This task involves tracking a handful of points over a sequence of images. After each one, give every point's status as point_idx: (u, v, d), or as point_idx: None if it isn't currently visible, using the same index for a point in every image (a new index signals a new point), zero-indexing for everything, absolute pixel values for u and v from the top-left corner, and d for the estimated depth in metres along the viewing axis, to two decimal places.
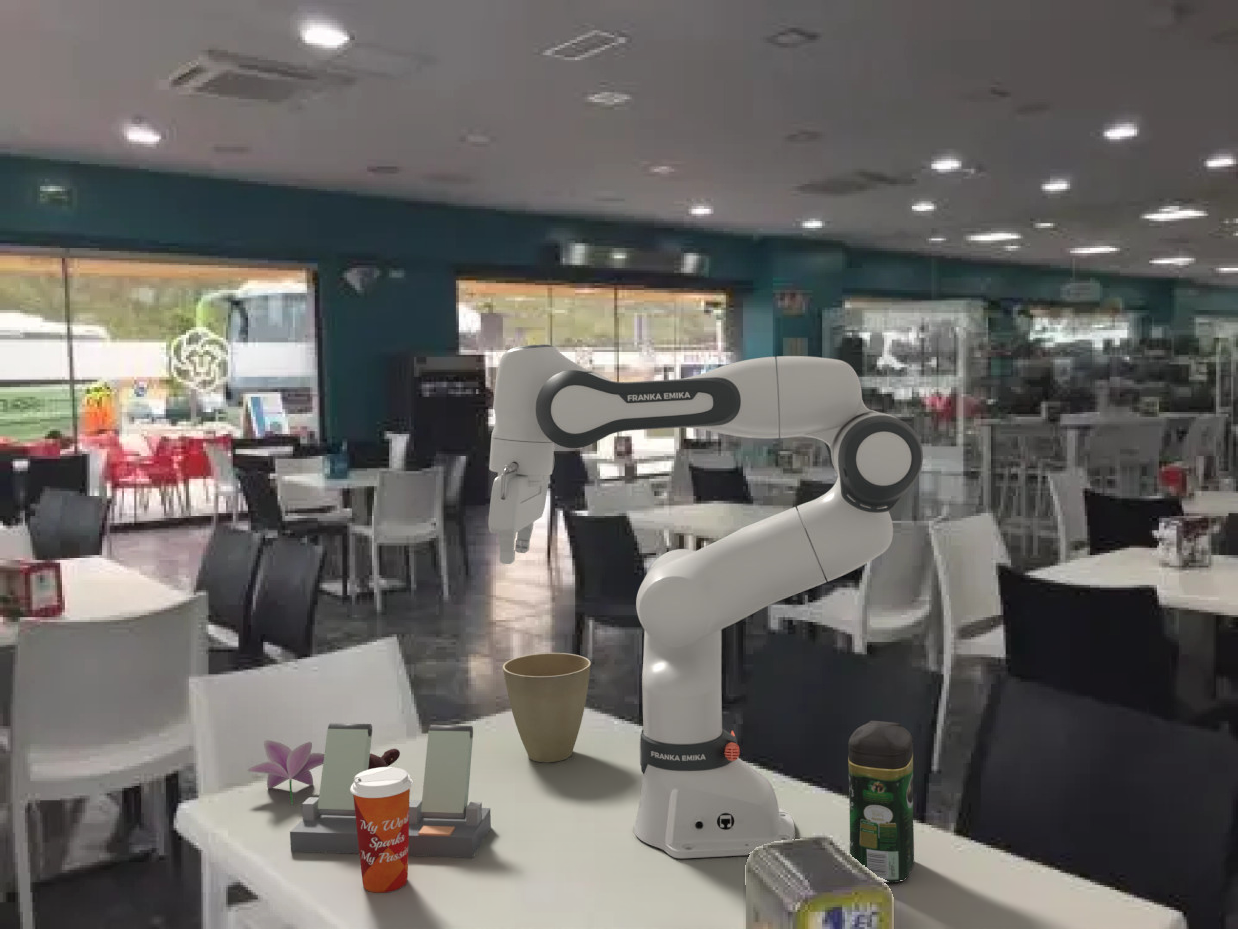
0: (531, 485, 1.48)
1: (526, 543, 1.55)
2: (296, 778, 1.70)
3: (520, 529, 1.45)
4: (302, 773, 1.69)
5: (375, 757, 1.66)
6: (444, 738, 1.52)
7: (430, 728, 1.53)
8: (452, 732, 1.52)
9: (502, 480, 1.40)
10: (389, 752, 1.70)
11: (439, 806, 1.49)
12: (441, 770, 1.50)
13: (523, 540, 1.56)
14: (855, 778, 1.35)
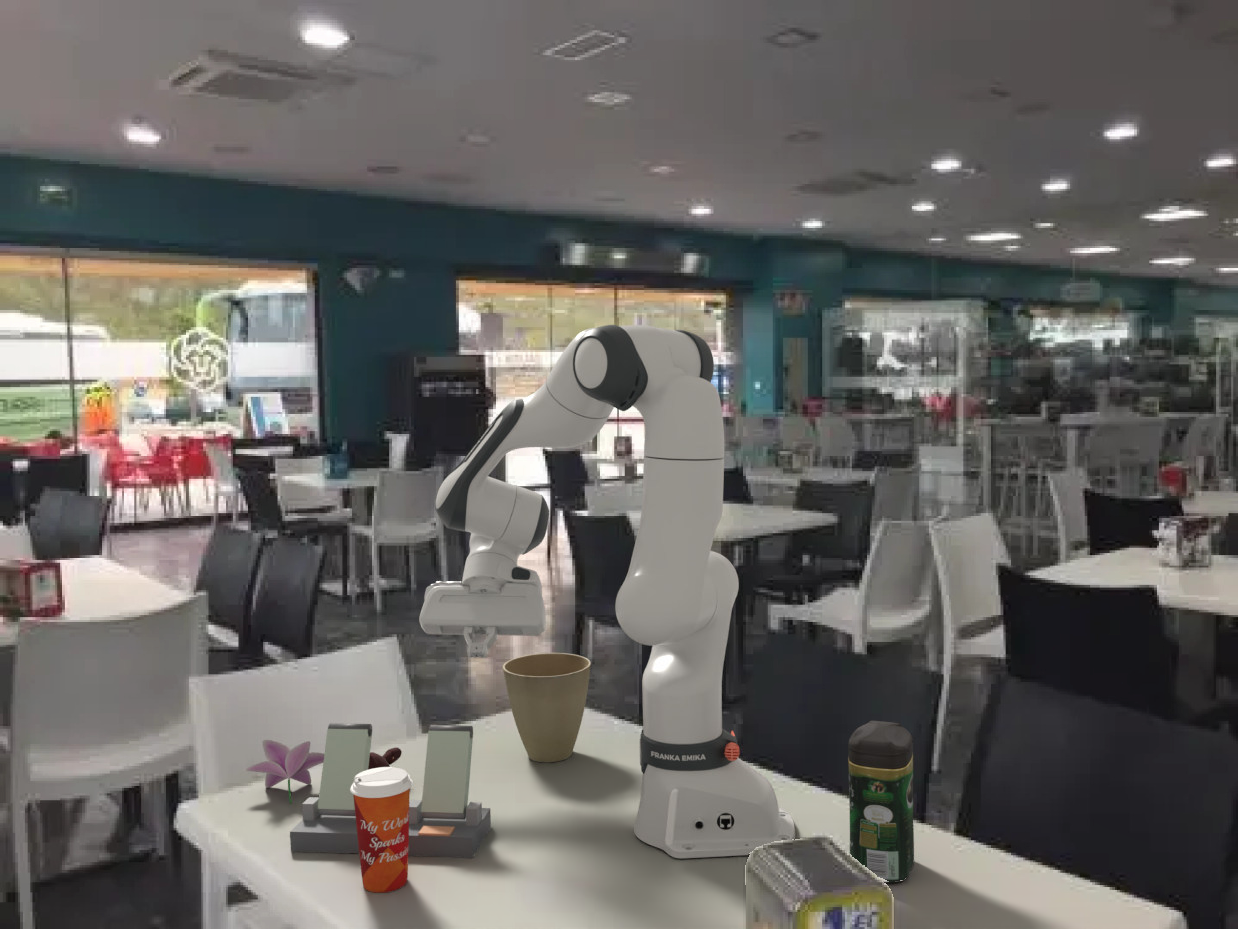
0: (470, 591, 1.74)
1: (477, 645, 1.69)
2: (294, 777, 1.70)
3: (444, 622, 1.71)
4: (300, 772, 1.69)
5: (376, 756, 1.67)
6: (444, 738, 1.52)
7: (430, 728, 1.53)
8: (452, 732, 1.52)
9: (426, 591, 1.77)
10: (391, 751, 1.71)
11: (439, 806, 1.49)
12: (441, 770, 1.50)
13: None
14: (855, 778, 1.35)
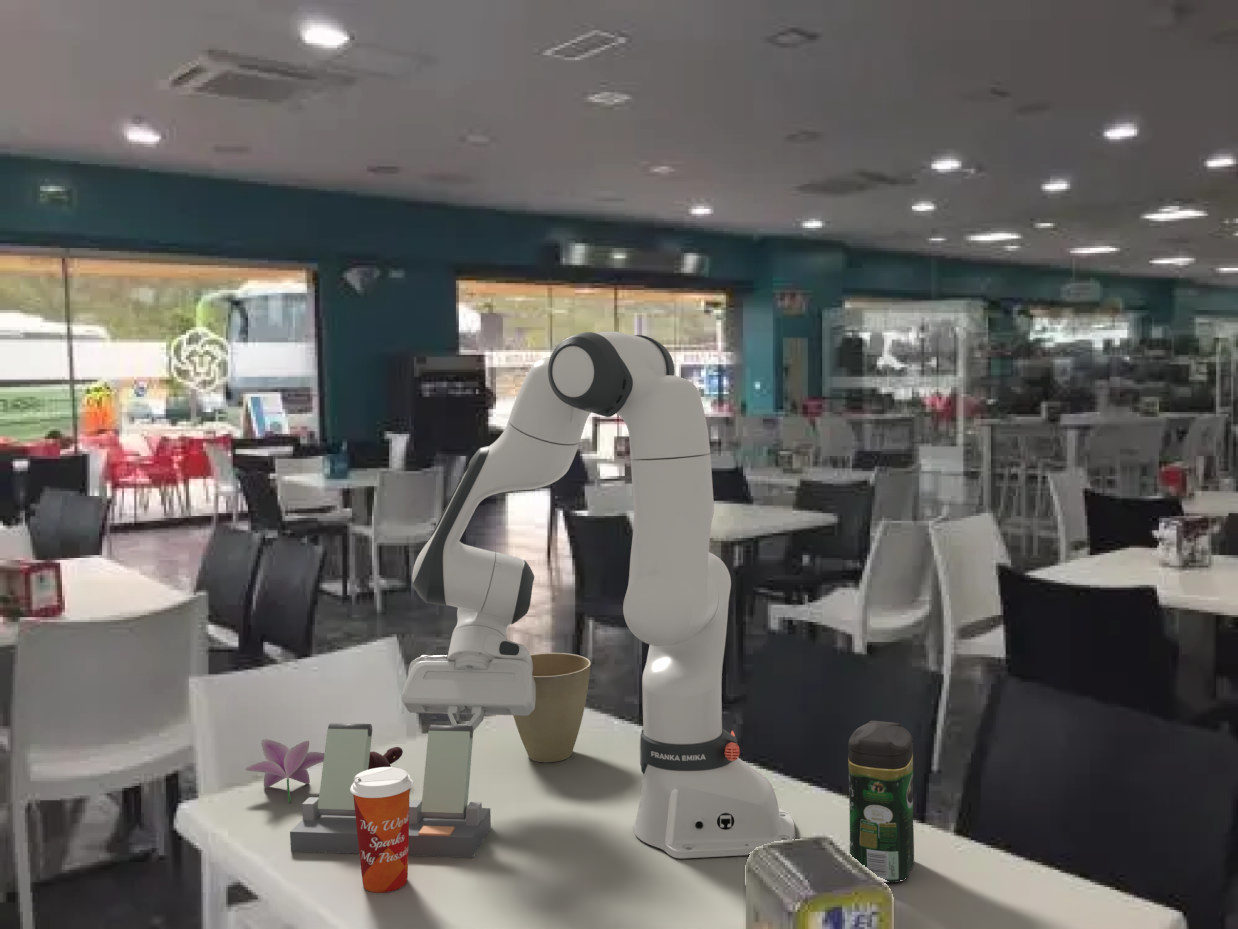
0: (455, 667, 1.64)
1: None
2: (293, 777, 1.70)
3: (428, 701, 1.61)
4: (299, 772, 1.69)
5: (377, 755, 1.67)
6: (444, 738, 1.52)
7: (430, 728, 1.53)
8: (452, 732, 1.52)
9: (410, 666, 1.68)
10: (392, 750, 1.71)
11: (439, 806, 1.49)
12: (441, 770, 1.50)
13: None
14: (855, 778, 1.35)
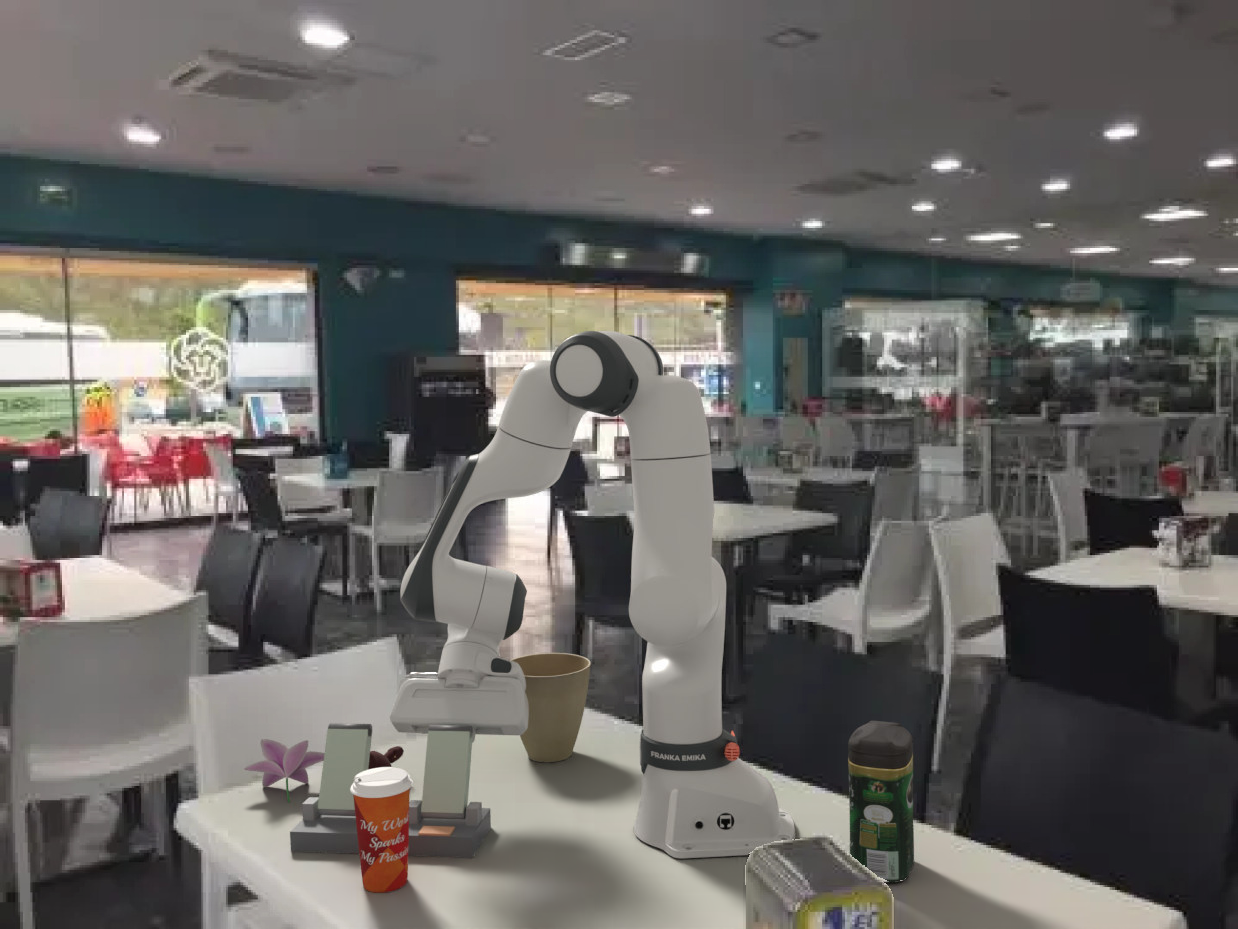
0: (445, 685, 1.59)
1: None
2: (292, 776, 1.71)
3: (417, 721, 1.56)
4: (298, 771, 1.70)
5: (377, 754, 1.68)
6: (444, 738, 1.52)
7: (430, 728, 1.53)
8: (452, 732, 1.52)
9: (399, 684, 1.62)
10: (392, 749, 1.72)
11: (439, 806, 1.49)
12: (441, 770, 1.50)
13: None
14: (855, 778, 1.35)
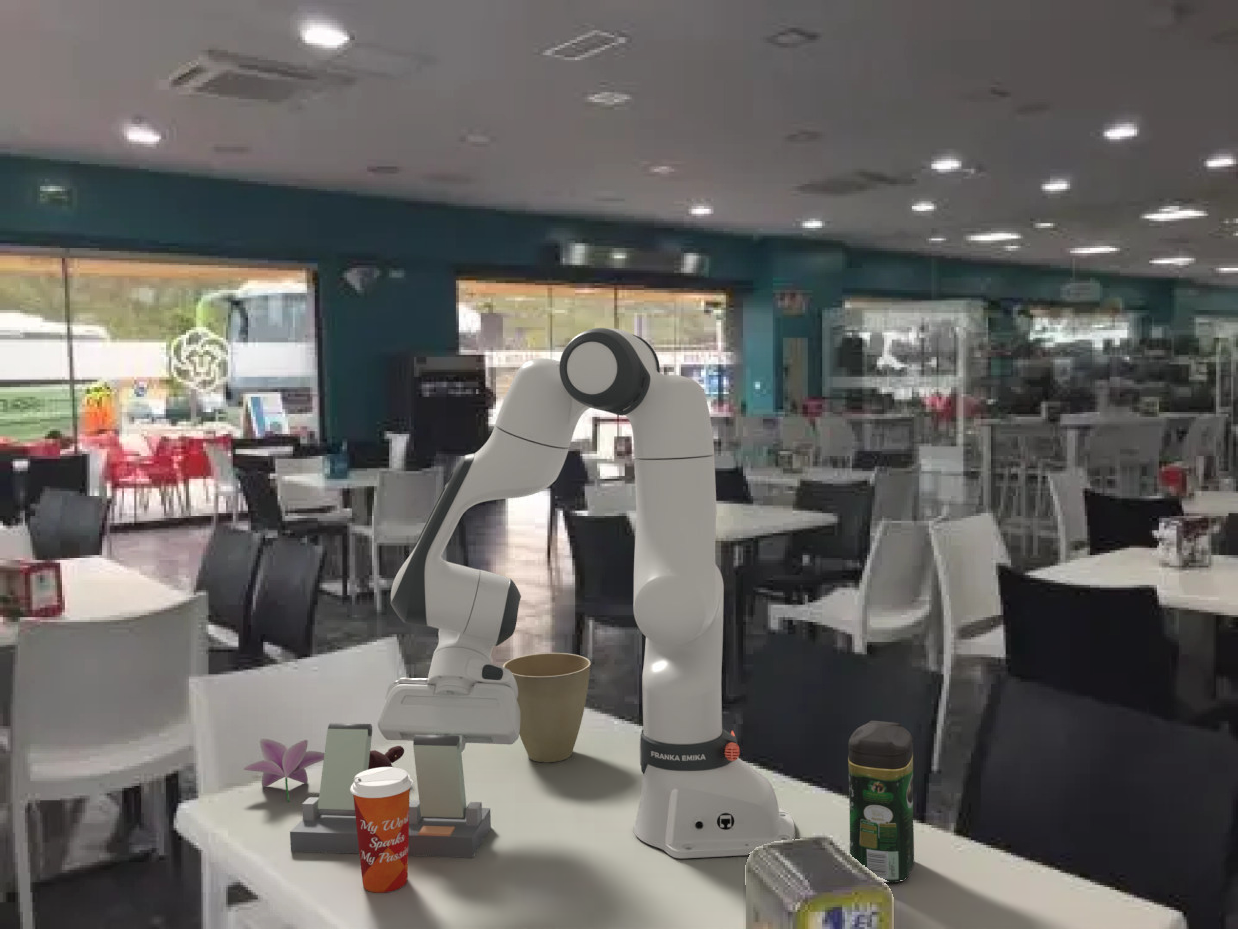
0: (435, 691, 1.54)
1: None
2: (291, 776, 1.71)
3: (405, 729, 1.52)
4: (297, 771, 1.70)
5: (378, 754, 1.68)
6: (431, 752, 1.46)
7: (414, 742, 1.46)
8: (438, 746, 1.45)
9: None
10: (393, 749, 1.72)
11: (438, 812, 1.48)
12: (434, 781, 1.47)
13: None
14: (855, 778, 1.35)
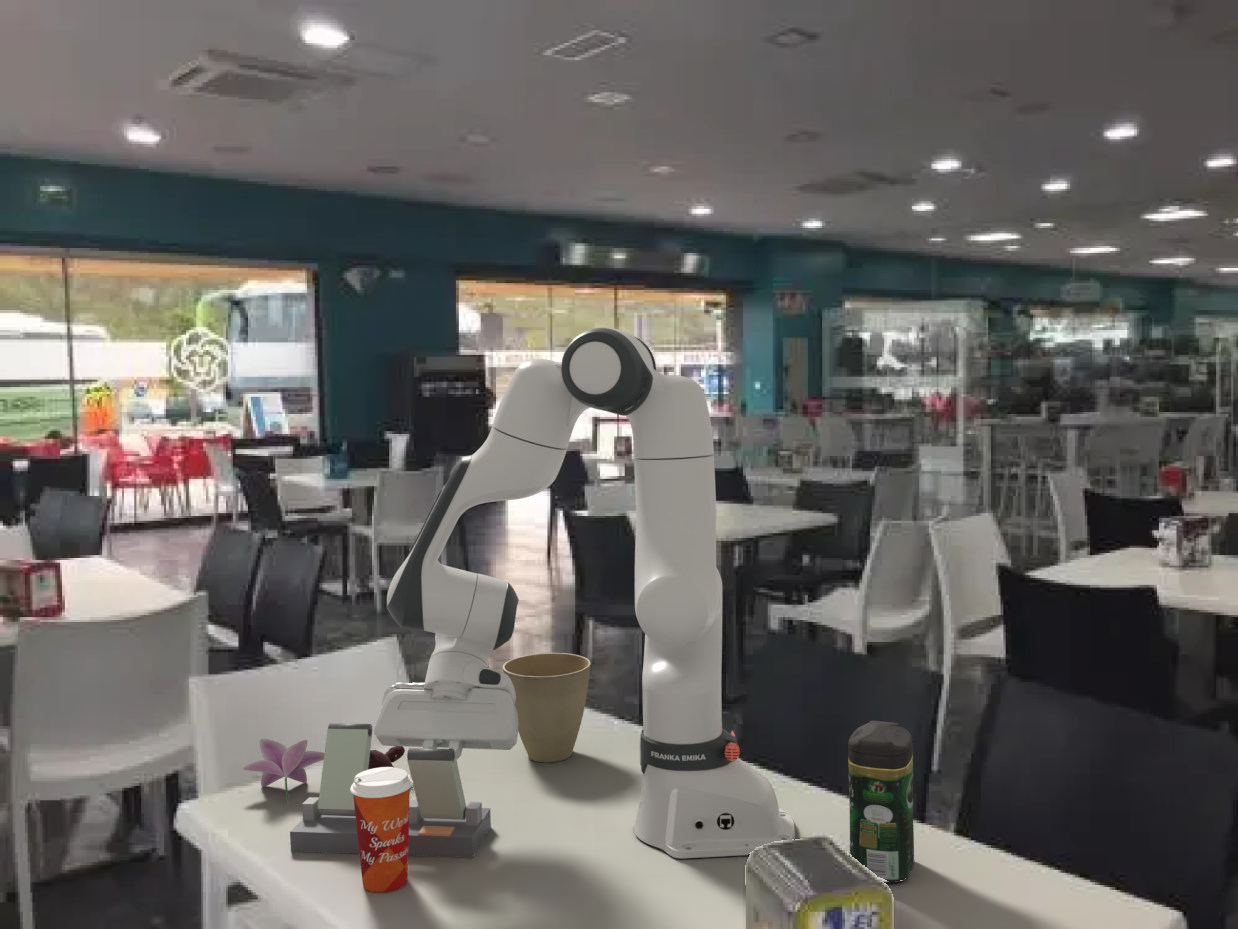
0: (432, 696, 1.53)
1: None
2: (290, 776, 1.71)
3: (402, 734, 1.50)
4: (297, 771, 1.70)
5: (378, 753, 1.68)
6: (426, 766, 1.43)
7: (408, 757, 1.43)
8: (433, 761, 1.43)
9: (384, 695, 1.56)
10: (393, 749, 1.72)
11: (438, 814, 1.48)
12: (431, 789, 1.46)
13: None
14: (855, 778, 1.35)
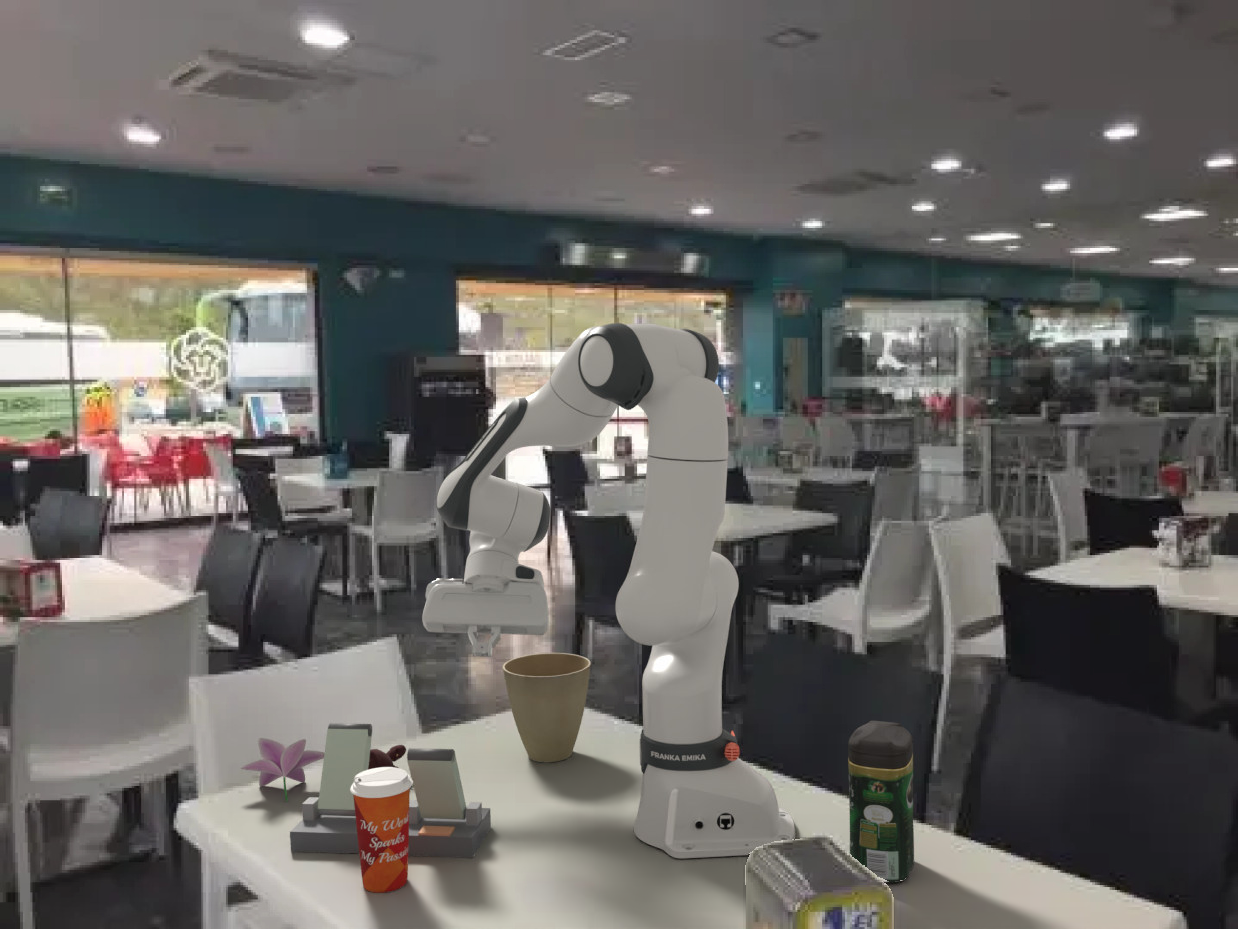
0: (473, 589, 1.73)
1: (482, 644, 1.69)
2: (288, 775, 1.71)
3: (448, 621, 1.70)
4: (295, 770, 1.70)
5: (379, 753, 1.68)
6: (426, 766, 1.43)
7: (408, 758, 1.43)
8: (433, 762, 1.43)
9: None
10: (395, 748, 1.72)
11: (438, 814, 1.48)
12: (431, 789, 1.46)
13: None
14: (855, 778, 1.35)
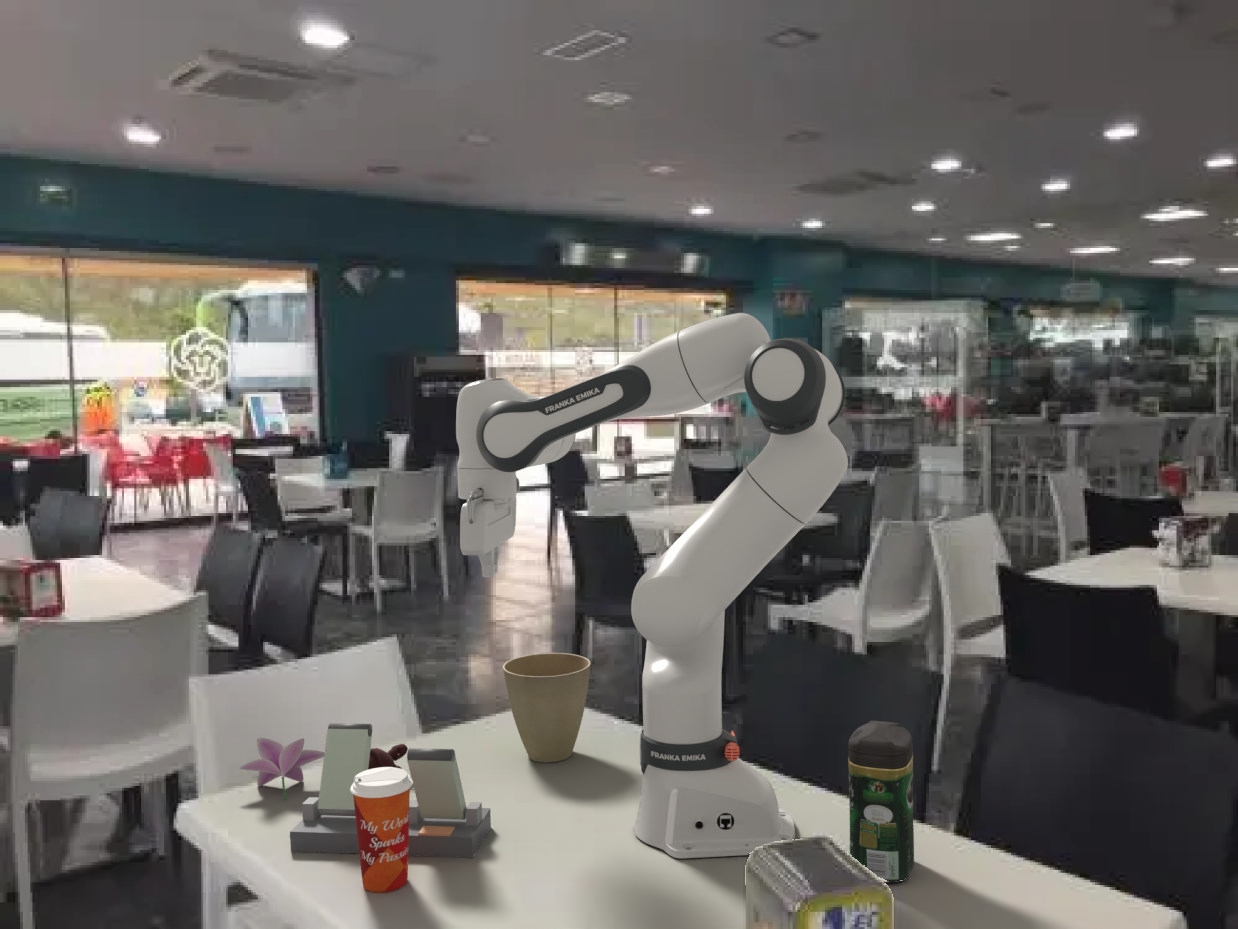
0: (497, 508, 1.61)
1: (494, 566, 1.64)
2: (287, 775, 1.71)
3: (491, 549, 1.58)
4: (293, 770, 1.70)
5: (380, 752, 1.69)
6: (426, 766, 1.43)
7: (408, 758, 1.43)
8: (433, 762, 1.43)
9: (468, 506, 1.53)
10: (396, 747, 1.73)
11: (438, 814, 1.48)
12: (431, 789, 1.46)
13: None
14: (855, 778, 1.35)
